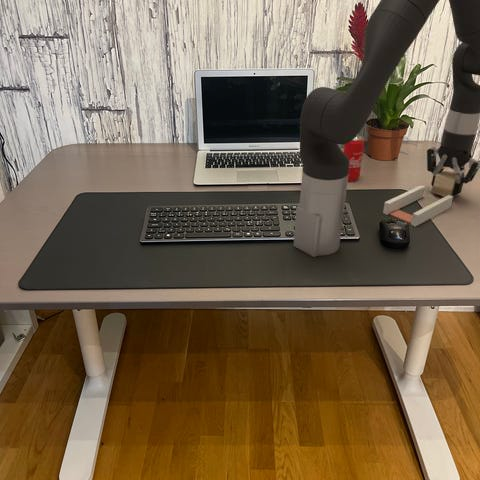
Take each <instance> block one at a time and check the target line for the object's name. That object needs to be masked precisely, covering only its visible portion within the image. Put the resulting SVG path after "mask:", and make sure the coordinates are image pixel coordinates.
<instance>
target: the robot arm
mask: <svg viewBox="0 0 480 480" xmlns="http://www.w3.org/2000/svg"><path fill="white" fill-rule="evenodd" d="M439 2H440V0H380V1H379V3H378V4H377V6H376V7H375V9H374V10H373V12H372V14H371V15H370V17H369V19H368V21H367V23H366V25H365V29H364V37H363V55H362V56H363V58H362V63H361V66H360V68H359V71H358V72H357V74H356V76H355V78H354V79H353V81H352V83H351V84H350V85H349V86H348V88H347V90H346V91H342V90H339V89H334V88H331V87H326V86H319V87H316V88H314V89H313V90H311V91H310V93H308V95H307V96H306V97H305V100H304V102H303V104H302V109H301V114H300V120H299V123H300V124H299V156H300V160H301V162H302V169H301V170H302V172H301V185H300V197H299V206H297V207H296V210H295V220H294V221H295V222H294V235H293V247H295V248H297V249H298V250H299V251H303V252H304V253H306V254H308V255H309V256H311V257H313V258H316V257H318V256H329V255H332V254H334V253H337V251H338V250H339V249H340V243H341V235H342V227H343V219H344V211H345V203H346V197H347V188H348V183H349V181H348V174H349V166H350V162H349V159H348V157H347V156H346V155H345V154H344V151H343V150H342V149H341V148H340V146H341V145H342V146H343V145H345V144H347V143H349V142H351V141H352V140H353V139H354V138H355V137H356V136H357V135H359V134H360V133H361V131H362V130H363V128H364V127H365V124H366V123H367V121H368V120H369V117H370V116H371V114H372V112H373V110H374V107H375V106H376V104H377V103H378V100H379V99H380V96H381V94H382V93H383V91H384V89H385V87H386V85H387V84H388V81H389V80H390V79H391V77H392V75H393V73H395V70H396V68H397V67H398V65H399V63H400V62H401V61H402V59H403V58H404V55H405V54H406V53H407V51H408V50H409V48H410V47H411V46H412V44H413V43H414V42H415V40H416V39H417V37H418V36H419V34H420V32H421V31H422V29H423V27H424V26H425V24H426V23H427V20H428V19H429V18H430V16H431V14H432V13H433V11H434V9H435V8H436V7H437V5H438V3H439ZM448 3H449V7H450V11H451V17H452V21H453V27H454V32H455V35H456V38H457V40H458V41H459V42H461V43H460V44H459V45H458V46H457V47H456V49H455V50H454V53H453V56H452V60H451V61H452V62H451V64H452V65H451V67H452V69H451V70H452V90H453V91H452V96H451V101H450V105H449V108H448V112H447V115H446V118H445V122H444V126H443V131H442V135H441V139H440V146H439V147H438V148H437V147H435V146H432V147H431V148H428V149H427V150H426V164H427V165H426V170H427V171H428V172H429V173H431V174H432V180H431V183H430V184H431V187H432V190H433V185H434V181H435V176H436V174H439V173H441V172H443V171H445V170H446V168H450V170H451V169H452V170H453V171H454V174H455V176H456V183H455V185H454V189H453V193H452V196H453V197H456V196H458V195H460V194H462V191H463V188H462V186H463V187H464V185H465V184H468V183H469V182H472V181H473V180H474V178H475V176H476V174H477V173H478V171H479V170H480V160H477V159H474V158H473V157H472V150H473V149H474V148H473V147H474V144H475V140H476V136H477V132H478V129H479V125H480V84H478V83H476V81H474V78H473V76H480V0H448ZM437 157H439V162H438V163H437ZM468 163H469V164H468ZM467 164H468V167H469V169H468V171H467V173H466V165H467ZM465 175H466V176H465ZM463 183H464V184H463ZM461 190H462V191H461Z"/></svg>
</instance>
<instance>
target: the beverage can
mask: <svg viewBox="0 0 480 480" xmlns="http://www.w3.org/2000/svg"><path fill="white" fill-rule="evenodd" d="M343 145H344V147H343V153H344V154H345V155H346V156H347V157H348V159H349V162H350V166H349V174H348V182H356V181H358V179H359V178H360V175H361V168H362V161H363V155H364V154H363V153H364V146H365V138H364V136H362V135H359V134H358V135H357V136H356V137H355V138H354V139H353V140H352V141H351V142H349V143H347V144H343Z"/></svg>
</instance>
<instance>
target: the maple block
mask: <svg viewBox="0 0 480 480" xmlns="http://www.w3.org/2000/svg"><path fill="white" fill-rule="evenodd" d="M466 175H467V174H465V176H466ZM455 183H456V176H455V174H454V170H453V169H452V170H451V169H449V168H447V169H444V170H443V172H441V173H439V174H436V176H435V181H434V185H433V186H432V187H433V189H432V190H431V193H433V194H435V195H439V196H441V197H443V198H444V197H446V196H448V195H450V196H452V193H453V189H454V185H455ZM464 185H465V183H463V186H462V190H461V192H462V191H463V187H464Z"/></svg>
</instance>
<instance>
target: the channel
mask: <svg viewBox="0 0 480 480" xmlns="http://www.w3.org/2000/svg"><path fill="white" fill-rule="evenodd" d="M425 190H426V186H424V185H418V186H416V187H414V188H413V189H410V190H407V191H406V192H404V193H401V194H399V195H398V196H395V197H393V198H391V199H388V200H386V201H384V206H383V211H382V214H384V215H386V216H387V215H389V216H390V217H393V218H396V219H398V220H401V221H403V222H405V223H407V224H410V226H412V227H417V226H419V225H420V224H423V223H425V222H426V221H429V220H430V219H432V218H433V217H435V216H437V215H439V214H441V213H443V212H445V211H446V210H448V209H450V208H451V206H452V202H453V199H454V196H450V195H448V196H446V197H444V196H443V197H442V198H440V199H438V200H437V201H434V202H433V203H431V204H429V205H426V206H425V207H423V208H421V209H419V210H417V211H415V212H413V213H412V214H410V213H408V212H406V211H402V210H400V209H401V208H404V207H406V206H408V205H410V204H412V203H414V202H416V201H418V200H419V199H421V198H424V194H425Z"/></svg>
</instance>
